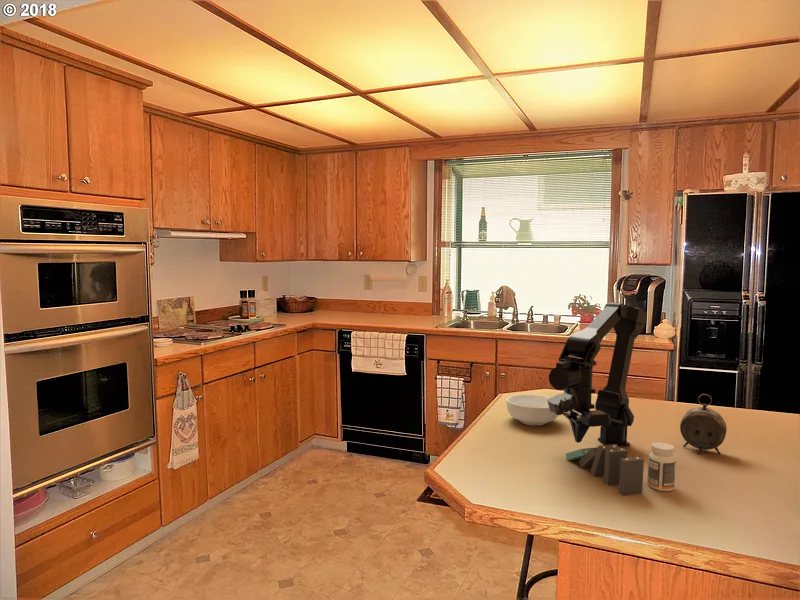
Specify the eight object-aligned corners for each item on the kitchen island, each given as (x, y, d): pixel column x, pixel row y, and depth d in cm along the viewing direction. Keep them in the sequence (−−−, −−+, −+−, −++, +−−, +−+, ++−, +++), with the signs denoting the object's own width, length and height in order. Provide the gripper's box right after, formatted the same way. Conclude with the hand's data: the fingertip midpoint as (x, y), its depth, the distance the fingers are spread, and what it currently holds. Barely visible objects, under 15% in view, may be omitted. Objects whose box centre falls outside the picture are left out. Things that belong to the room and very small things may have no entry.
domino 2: (595, 459, 143) (611, 445, 136) (598, 465, 142) (614, 451, 135) (578, 461, 141) (593, 447, 135) (581, 467, 140) (596, 453, 134)
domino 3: (607, 469, 138) (616, 443, 134) (611, 474, 136) (620, 447, 133) (590, 471, 137) (598, 444, 133) (593, 476, 135) (602, 449, 132)
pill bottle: (672, 483, 131) (674, 443, 130) (675, 493, 126) (678, 451, 125) (646, 480, 133) (648, 440, 132) (648, 490, 128) (650, 448, 127)
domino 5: (637, 490, 127) (639, 455, 127) (642, 493, 126) (644, 458, 125) (618, 492, 126) (620, 457, 125) (623, 495, 125) (625, 460, 124)
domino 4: (621, 480, 133) (623, 447, 132) (626, 483, 131) (627, 449, 130) (603, 482, 131) (605, 448, 131) (608, 485, 130) (609, 451, 129)
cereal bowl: (566, 419, 179) (567, 398, 179) (551, 434, 165) (551, 411, 165) (516, 411, 188) (517, 390, 188) (497, 424, 174) (498, 402, 174)
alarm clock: (725, 453, 151) (729, 394, 149) (723, 459, 147) (727, 399, 145) (680, 444, 157) (683, 388, 156) (677, 450, 153) (681, 393, 151)
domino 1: (582, 452, 147) (599, 446, 140) (583, 458, 147) (601, 453, 139) (565, 453, 146) (582, 448, 139) (566, 459, 145) (583, 455, 138)
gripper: (534, 377, 151) (532, 432, 153) (573, 395, 133) (570, 457, 135) (571, 375, 154) (568, 429, 155) (613, 392, 136) (610, 453, 137)
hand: (578, 442), depth 146 cm, fingers closed
